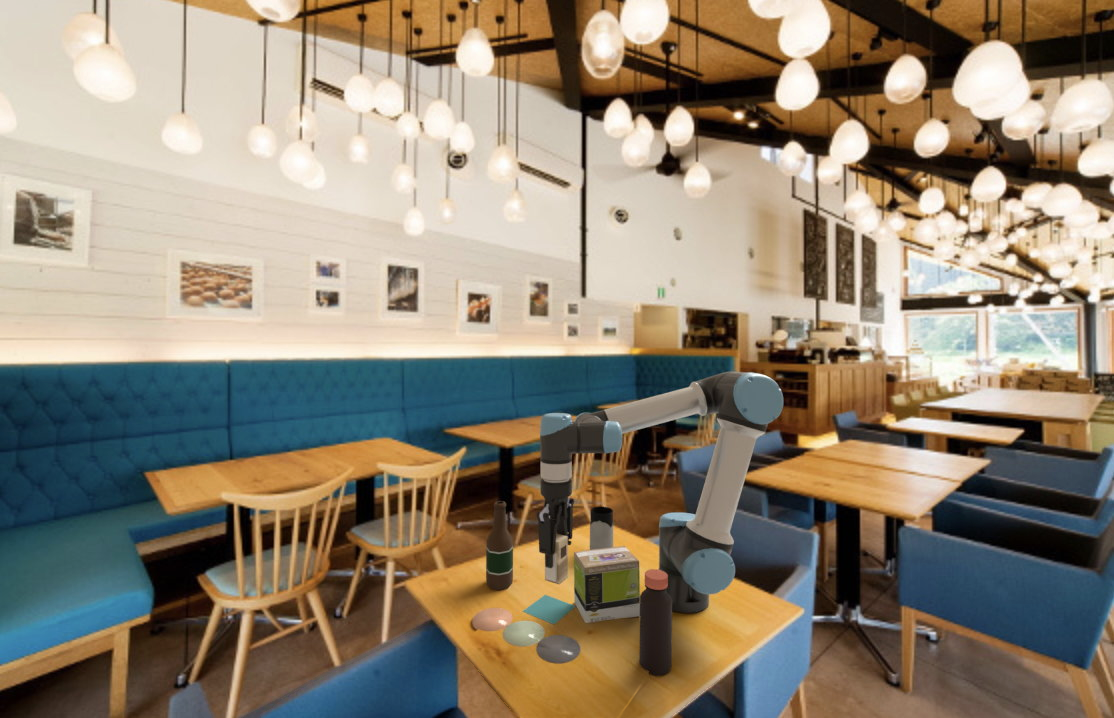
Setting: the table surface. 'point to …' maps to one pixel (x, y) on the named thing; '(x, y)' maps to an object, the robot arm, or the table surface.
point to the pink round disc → (492, 619)
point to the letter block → (561, 558)
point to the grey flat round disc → (558, 649)
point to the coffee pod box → (606, 584)
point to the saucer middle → (523, 633)
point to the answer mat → (549, 609)
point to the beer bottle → (499, 551)
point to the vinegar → (656, 624)
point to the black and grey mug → (601, 528)
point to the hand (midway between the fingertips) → (556, 575)
